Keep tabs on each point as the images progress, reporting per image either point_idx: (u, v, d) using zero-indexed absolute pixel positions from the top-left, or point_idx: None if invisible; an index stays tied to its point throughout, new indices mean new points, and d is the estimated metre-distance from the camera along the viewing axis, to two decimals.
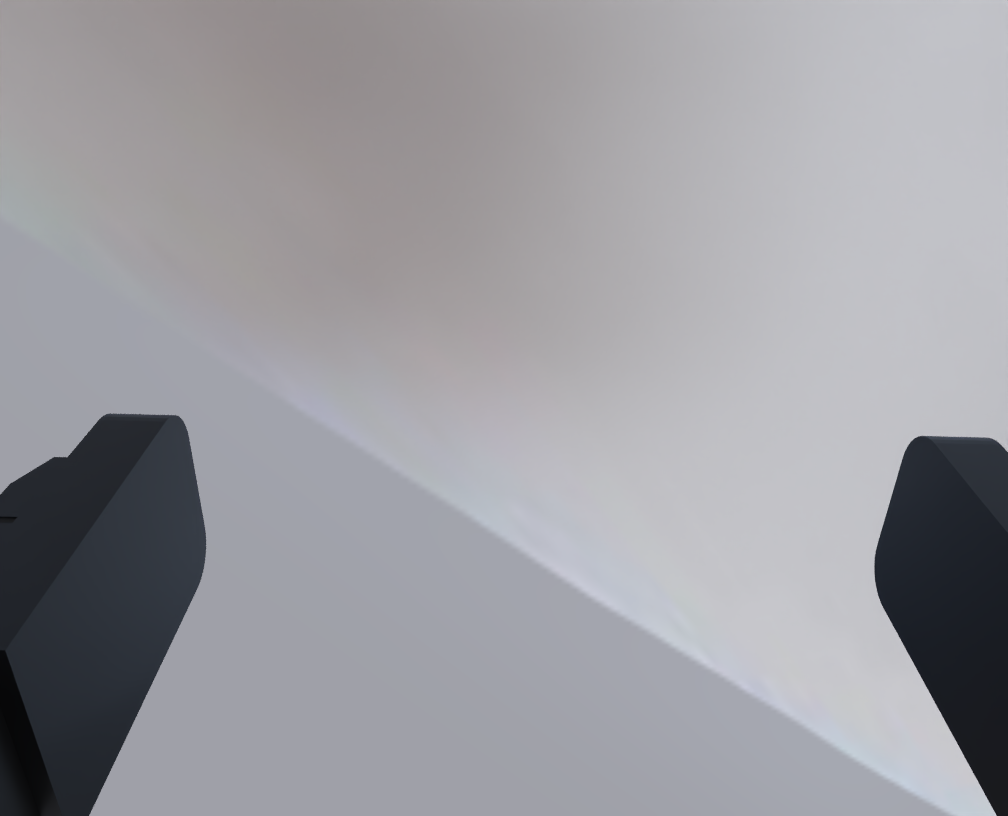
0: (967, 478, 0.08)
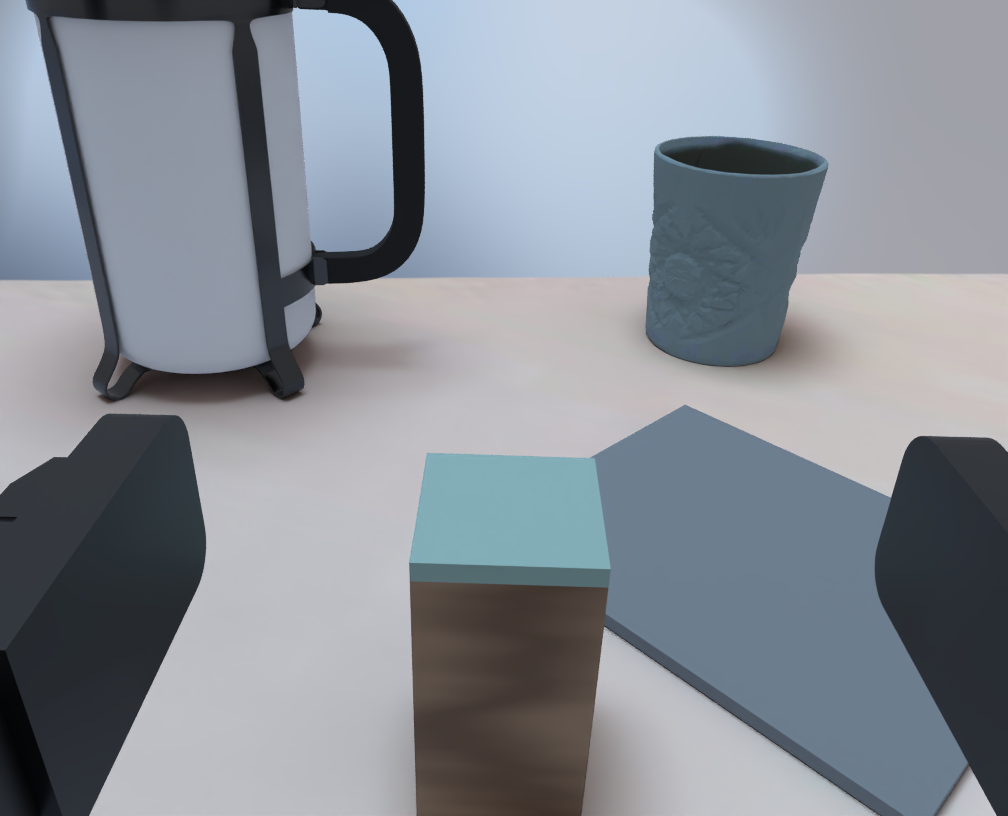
0: (967, 478, 0.08)
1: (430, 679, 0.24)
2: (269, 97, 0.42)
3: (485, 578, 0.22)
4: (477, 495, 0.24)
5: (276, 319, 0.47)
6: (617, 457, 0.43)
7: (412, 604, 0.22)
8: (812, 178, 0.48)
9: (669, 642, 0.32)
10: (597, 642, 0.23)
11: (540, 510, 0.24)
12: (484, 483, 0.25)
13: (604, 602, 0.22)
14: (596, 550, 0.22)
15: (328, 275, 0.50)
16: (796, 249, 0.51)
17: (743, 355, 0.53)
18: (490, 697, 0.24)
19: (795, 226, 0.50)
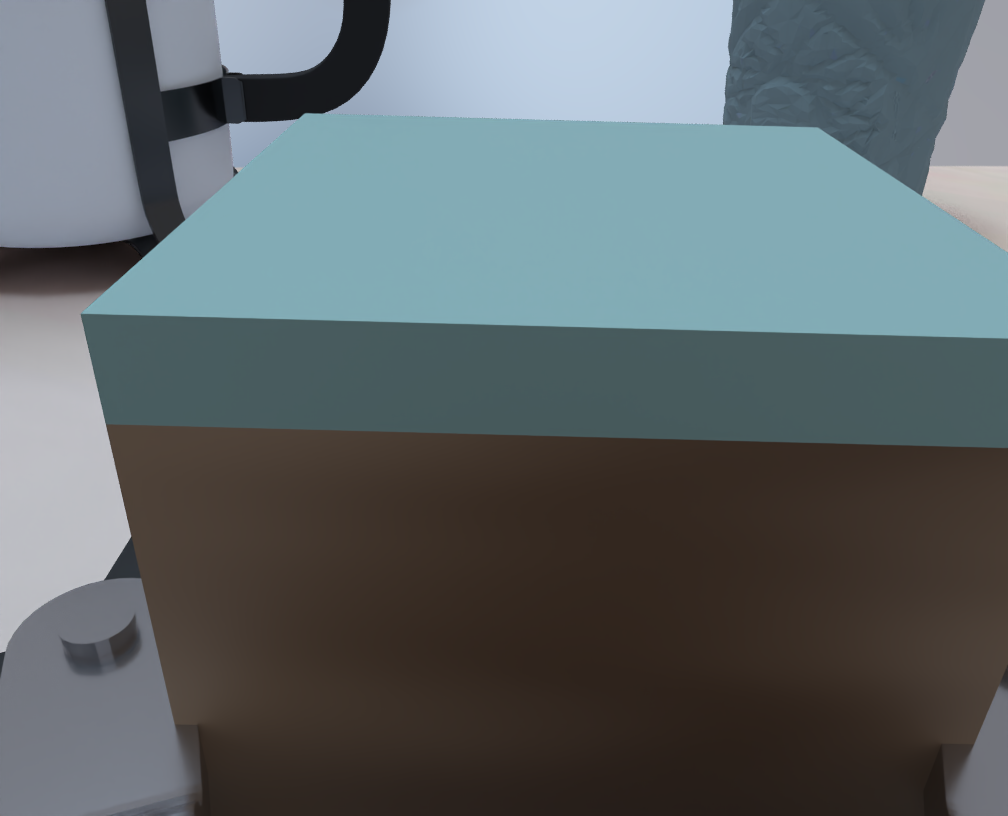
0: None
1: None
2: None
3: (483, 403, 0.04)
4: (454, 170, 0.07)
5: (157, 160, 0.30)
6: None
7: (143, 546, 0.05)
8: None
9: None
10: (966, 713, 0.05)
11: (694, 197, 0.06)
12: (480, 153, 0.07)
13: None
14: (1003, 284, 0.05)
15: (246, 107, 0.33)
16: (955, 67, 0.34)
17: None
18: None
19: (959, 26, 0.33)
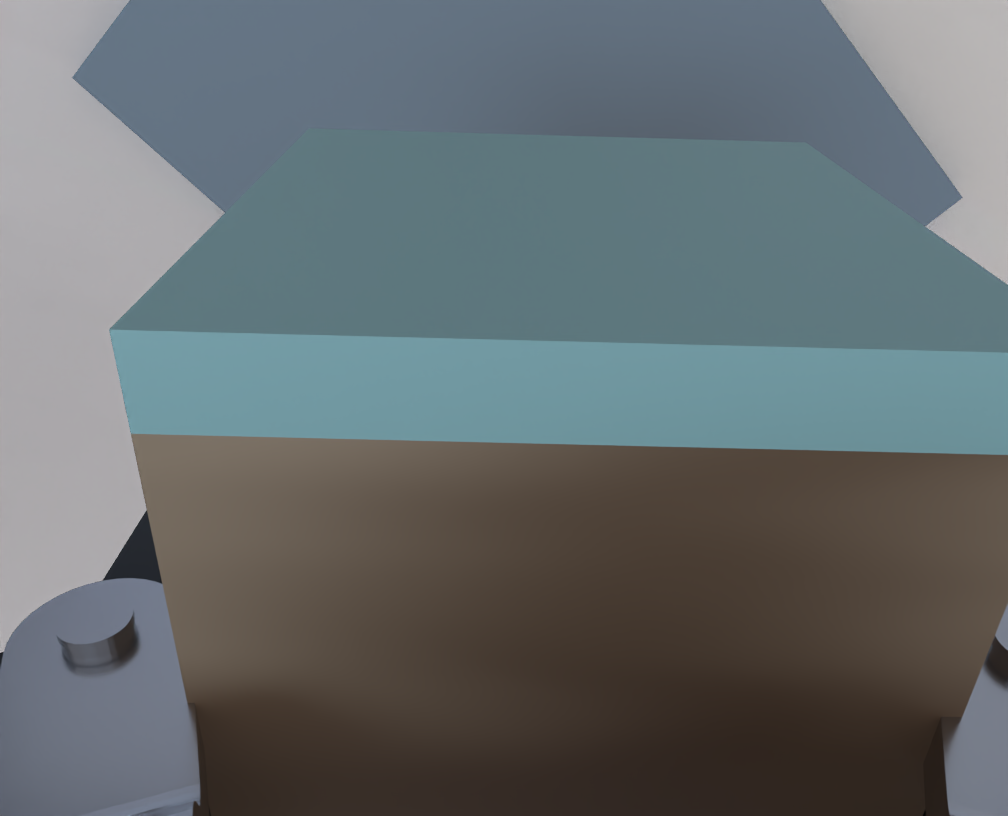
0: None
1: None
2: None
3: (489, 413, 0.05)
4: (456, 186, 0.07)
5: None
6: None
7: (164, 550, 0.05)
8: None
9: None
10: (946, 706, 0.06)
11: (687, 213, 0.06)
12: (480, 169, 0.07)
13: None
14: (980, 301, 0.05)
15: None
16: None
17: None
18: None
19: None
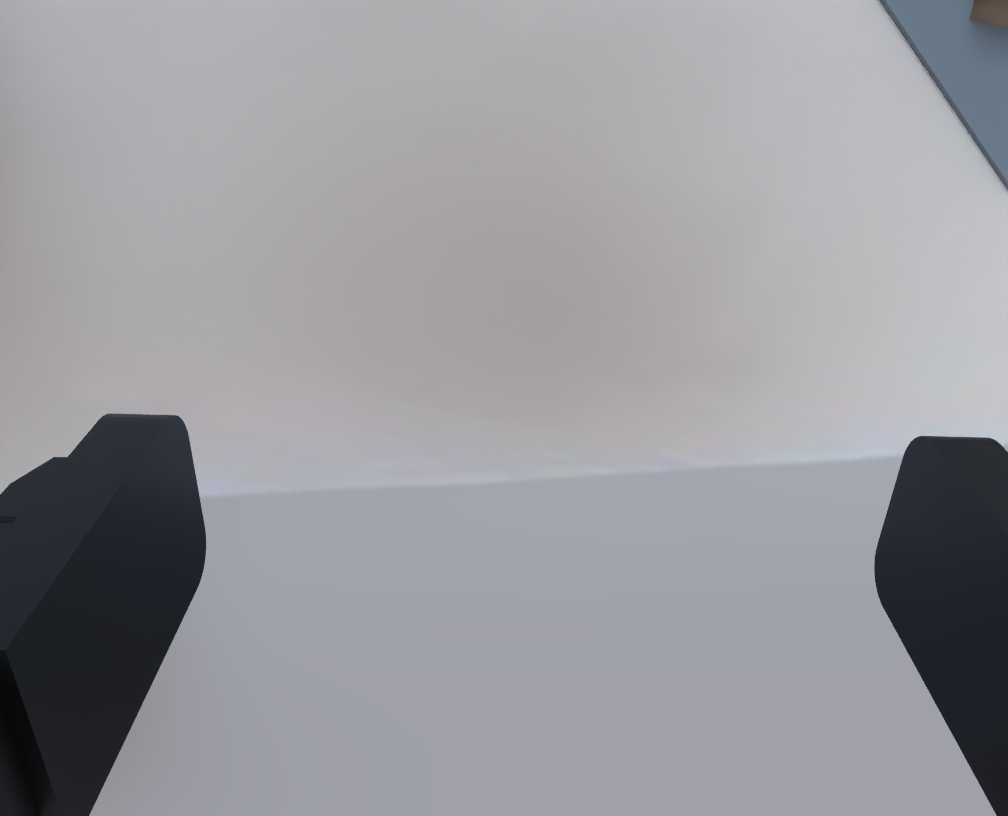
0: (967, 478, 0.08)
1: None
2: None
3: None
4: None
5: None
6: None
7: None
8: None
9: None
10: None
11: None
12: None
13: None
14: None
15: None
16: None
17: None
18: None
19: None
